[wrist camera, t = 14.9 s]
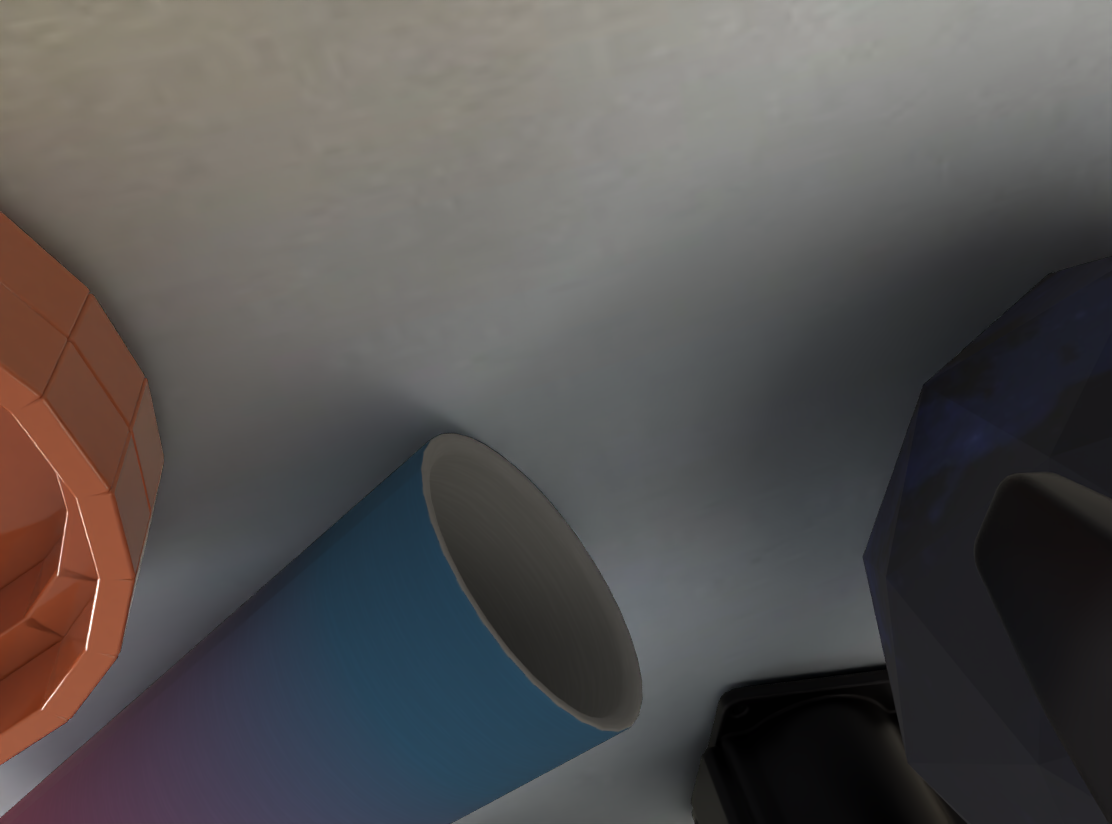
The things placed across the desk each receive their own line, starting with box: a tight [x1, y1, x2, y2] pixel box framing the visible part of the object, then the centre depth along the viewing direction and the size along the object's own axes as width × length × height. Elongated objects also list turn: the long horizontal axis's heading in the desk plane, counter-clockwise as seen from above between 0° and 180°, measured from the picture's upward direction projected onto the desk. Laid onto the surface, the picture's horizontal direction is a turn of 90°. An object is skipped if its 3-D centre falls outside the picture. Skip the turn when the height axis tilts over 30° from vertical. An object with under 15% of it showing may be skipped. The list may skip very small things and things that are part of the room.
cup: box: [0, 433, 642, 824], centre depth 20 cm, size 7×7×15 cm
